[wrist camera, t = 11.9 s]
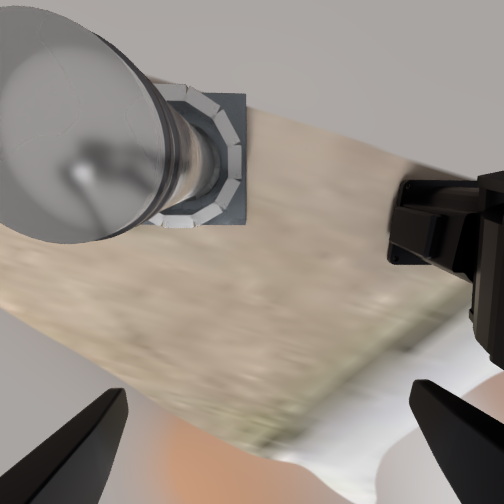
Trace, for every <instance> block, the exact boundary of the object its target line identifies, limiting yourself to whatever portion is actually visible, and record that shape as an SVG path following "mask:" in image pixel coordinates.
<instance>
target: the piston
mask: <svg viewBox="0 0 504 504" xmlns="http://www.w3.org/2000/svg"><path fill="white" fill-rule="evenodd" d="M220 169H221V160H220V155H219V151H218V149H217V147H216V145H215V143H214V141H213V140H212V139H211V137H210V136H209V135H208V134H207V133H206V132H205V131H204V130H203V129H201V128H200V127H198V126H196V125H194V124H192V123H189V122H187V121H186V120H185V119H184V118H183V117H182V116H181V115H180V114H179V113H178V112H177V111H176V110H175V109H174V108H173V107H172V106H171V105H170V104H169V103H168V102H166V100H165V99H164V97H163V96H162V94H161V93H160V92H159V90H158V89H157V88H156V87H155V86H154V84H153V83H152V82H151V81H150V80H149V79H148V78H147V77H146V76H145V75H144V74H143V73H142V72H141V71H140V70H139V69H138V68H137V67H136V66H135V65H134V64H133V63H132V62H131V61H130V60H129V59H128V58H127V57H126V56H125V55H124V54H123V53H122V52H121V51H119V50H118V49H117V48H116V47H115V46H114V45H112V44H111V43H109V42H108V41H106V40H105V39H103V38H102V37H100V36H99V35H97V34H95V33H93V32H91V31H89V30H87V29H86V28H84V27H83V26H81V25H80V24H78V23H76V22H73V21H72V20H70V19H68V18H66V17H64V16H61V15H59V14H56V13H53V12H50V11H48V10H43V9H38V8H34V7H25V6H7V7H0V223H2V224H3V225H5V226H7V227H9V228H11V229H13V230H15V231H17V232H19V233H21V234H23V235H26V236H29V237H31V238H34V239H38V240H42V241H46V242H52V243H59V244H76V243H86V242H90V241H98V240H104V239H108V238H112V237H115V236H117V235H120V234H122V233H124V232H126V231H128V230H130V229H132V228H134V227H136V226H138V225H140V224H142V223H144V222H146V221H148V220H149V219H151V218H152V217H154V216H155V215H156V214H157V213H159V212H160V211H162V210H164V209H166V208H169V207H171V206H173V205H175V204H177V203H179V202H187V201H193V200H196V199H199V198H201V197H202V196H204V195H206V194H207V193H208V192H210V191H211V190H212V188H213V187H214V186H215V184H216V182H217V180H218V178H219V175H220Z"/></svg>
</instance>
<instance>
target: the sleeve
mask: <svg viewBox="0 0 504 504" xmlns="http://www.w3.org/2000/svg"><path fill="white" fill-rule="evenodd" d="M154 86H155V87H156V88H157V89H158V90H159V92H160V93H161V94H162V96H163V97H164V99H165V100H166V102H168V103H169V104H170V105H171V106H172V107H173V108H174V109H175V110H176V111H177V112H178V113H179V114H180V115H181V116H182V117H183V118H184V119H185V120H186V121H187V122H189V123H192V124H194V125H196V126H198V127H200V128H201V129H203V130H204V131H205V132H206V133H207V134H208V135H209V136H210V137H211V139H212V140H213V141H214V143H215V145H216V147H217V149H218V151H219V155H220V160H221V169H220V175H219V178H218V180H217V182H216V184H215V186H214V187H213V188H212V190H211V191H210V192H208V193H207V194H206V195H204V196H202V197H201V198H199V199H196V200H193V201H187V202H179V203H177V204H175V205H173V206H171V207H169V208H166V209H164V210H162V211H160V212H159V213H157V214H156V215H155V216H154V217H152V218H151V219H149V220H148V221H146V222H144V223H142V224H149V225H158V226H159V227H160V226H162V225H163V226H164V228H194V227H195V226H197V227H198V226H200V225H246V94H235V93H200V92H199V91H197V90H196V89H194V88H193V87H191V86H190V87H189V89H188V87H187V86H186V84H154Z"/></svg>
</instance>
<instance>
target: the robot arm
mask: <svg viewBox="0 0 504 504" xmlns="http://www.w3.org/2000/svg"><path fill="white" fill-rule="evenodd" d="M408 184H409V185H410V188H409V189H408V190H407V189H406V187H407V185H408ZM389 241H390V245H389V251H388V257H387V260H388V261H389V262H390V263H392V264H394V265H434V266H436V267H438V268H440V269H442V270H445V271H447V272H449V273H451V274H453V275H455V276H457V277H459V278H461V279H463V280H465V281H468V282H470V283H472V284H473V292H472V307H471V309H469V319H470V320H471V321H472V322H473V331H474V334H475V338H476V340H477V341H478V342H479V343H480V345H481V346H482V347H483V348H484V349H485V350H486V352H487V353H489V354H490V357H489V358H490V361H491V362H492V363H494V364H495V365H497V366H498V367H500V368H501V369H503V370H504V171H499V172H495V173H490V174H485V175H480V176H478V178H477V181H454V180H405V181H403V182H402V183H401V185H400V189H399V195H398V200H397V206H396V209H395V210H394V215H393V221H392V227H391V232H390V238H389ZM395 256H397V258H396V259H395V260H393V258H394V257H395ZM409 405H410V408H411V410H412V412H413V414H414V416H415V418H416V420H417V422H418V424H419V426H420V428H421V430H422V432H423V435H424V436H425V439H426V441H427V443H428V445H429V447H430V449H431V451H432V453H433V455H434V457H435V459H436V461H437V463H438V464H439V466H440V468H441V470H442V471H443V473H444V475H445V477H446V478H447V480H448V482H449V483H450V485H451V487H452V488H453V490H454V492H455V493H456V495H457V497H458V499H459V500H460V502H461V503H462V504H504V424H503V423H501V422H499V421H498V420H496V419H494V418H493V417H491V416H489V415H488V414H486V413H484V412H483V411H481V410H479V409H477V408H476V407H474V406H472V405H471V404H469V403H467V402H466V401H464V400H462V399H461V398H459V397H457V396H456V395H454V394H452V393H451V392H449V391H447V390H445V389H444V388H442V387H440V386H439V385H437V384H435V383H434V382H432V381H430V380H427V379H422V380H415V381H414V382H413V385H412V389H411V393H410V397H409ZM127 417H128V403H127V397H126V392H125V390H124V388H110V389H108V390H107V391H106V392H104V393H103V394H102V395H101V396H99V397H98V398H97V399H96V400H94V401H93V402H92V403H91V404H89V405H88V406H87V407H86V408H85V409H83V410H82V411H81V412H80V413H78V414H77V415H76V416H75V417H73V418H72V419H71V420H70V421H68V422H67V423H66V424H65V425H64V426H62V427H61V428H60V429H59V430H57V431H56V432H55V433H54V434H52V435H51V436H50V437H49V438H48V439H46V440H45V441H44V442H43V443H41V444H40V445H39V446H38V447H36V448H35V449H34V450H33V451H31V452H30V453H29V454H28V455H26V456H25V457H24V458H23V459H22V460H20V461H19V462H18V463H17V464H16V465H14V466H13V467H12V468H10V470H8V471H7V472H5V473H4V474H3V475H2V476H1V477H0V504H98V502H99V499H100V497H101V495H102V492H103V490H104V487H105V485H106V482H107V480H108V476H109V474H110V471H111V468H112V465H113V462H114V458H115V455H116V452H117V449H118V446H119V442H120V439H121V436H122V433H123V430H124V427H125V423H126V420H127Z"/></svg>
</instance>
